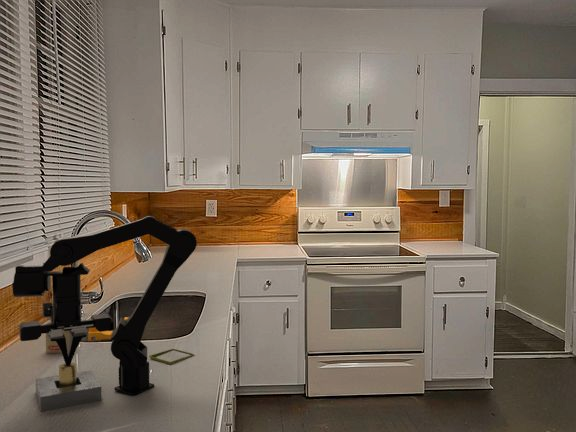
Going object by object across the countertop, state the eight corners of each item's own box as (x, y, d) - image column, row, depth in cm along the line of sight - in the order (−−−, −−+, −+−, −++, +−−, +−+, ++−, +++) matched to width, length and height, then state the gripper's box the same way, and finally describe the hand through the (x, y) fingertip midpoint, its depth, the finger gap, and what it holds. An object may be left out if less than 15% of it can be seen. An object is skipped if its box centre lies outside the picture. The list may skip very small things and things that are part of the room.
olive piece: (173, 355, 147) (173, 348, 147) (195, 361, 142) (195, 353, 141) (148, 363, 140) (148, 355, 140) (170, 370, 135) (170, 362, 134)
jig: (101, 400, 114) (101, 386, 114) (40, 411, 108) (40, 397, 108) (91, 382, 124) (91, 370, 124) (35, 392, 118) (35, 379, 118)
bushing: (80, 395, 117) (79, 364, 116) (66, 400, 114) (65, 368, 113) (69, 392, 119) (69, 361, 118) (56, 397, 116) (55, 365, 115)
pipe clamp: (88, 343, 157) (88, 322, 157) (90, 339, 161) (90, 318, 161) (130, 341, 159) (129, 320, 159) (131, 337, 164) (131, 317, 163)
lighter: (44, 354, 146) (43, 318, 146) (48, 350, 150) (47, 315, 149) (71, 353, 147) (70, 317, 147) (74, 349, 151) (73, 314, 150)
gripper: (103, 285, 127) (104, 349, 128) (17, 292, 117) (18, 361, 118) (113, 293, 117) (114, 362, 118) (19, 301, 108) (21, 376, 109)
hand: (67, 365), depth 116 cm, fingers closed, pressing on bushing
